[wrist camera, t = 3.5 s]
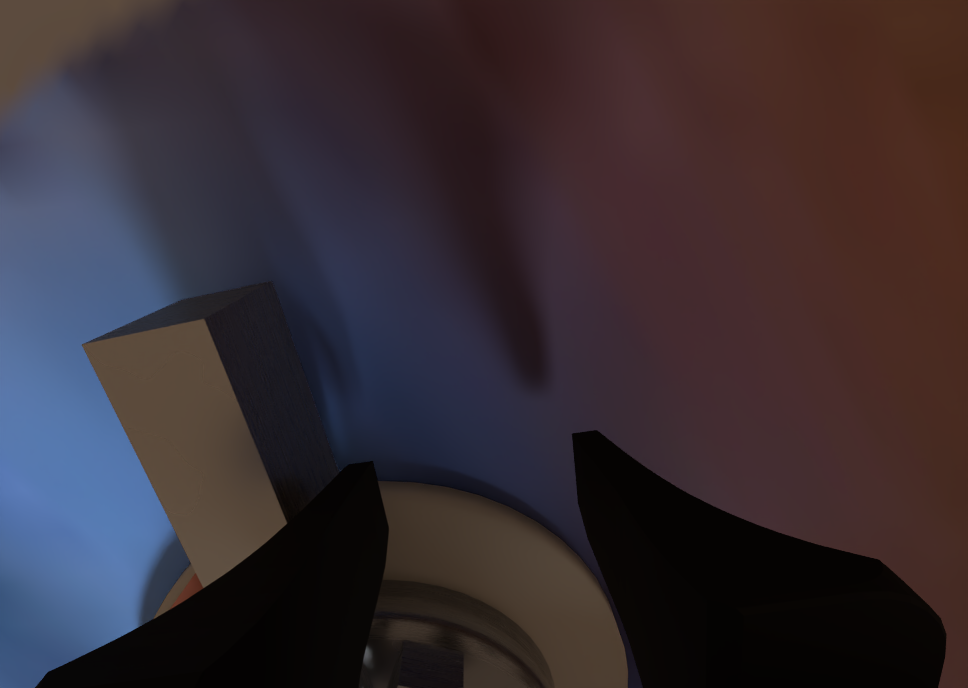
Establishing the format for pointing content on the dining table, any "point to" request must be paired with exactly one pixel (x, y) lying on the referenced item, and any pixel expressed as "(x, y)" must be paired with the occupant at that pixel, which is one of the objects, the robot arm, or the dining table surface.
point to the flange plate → (496, 576)
